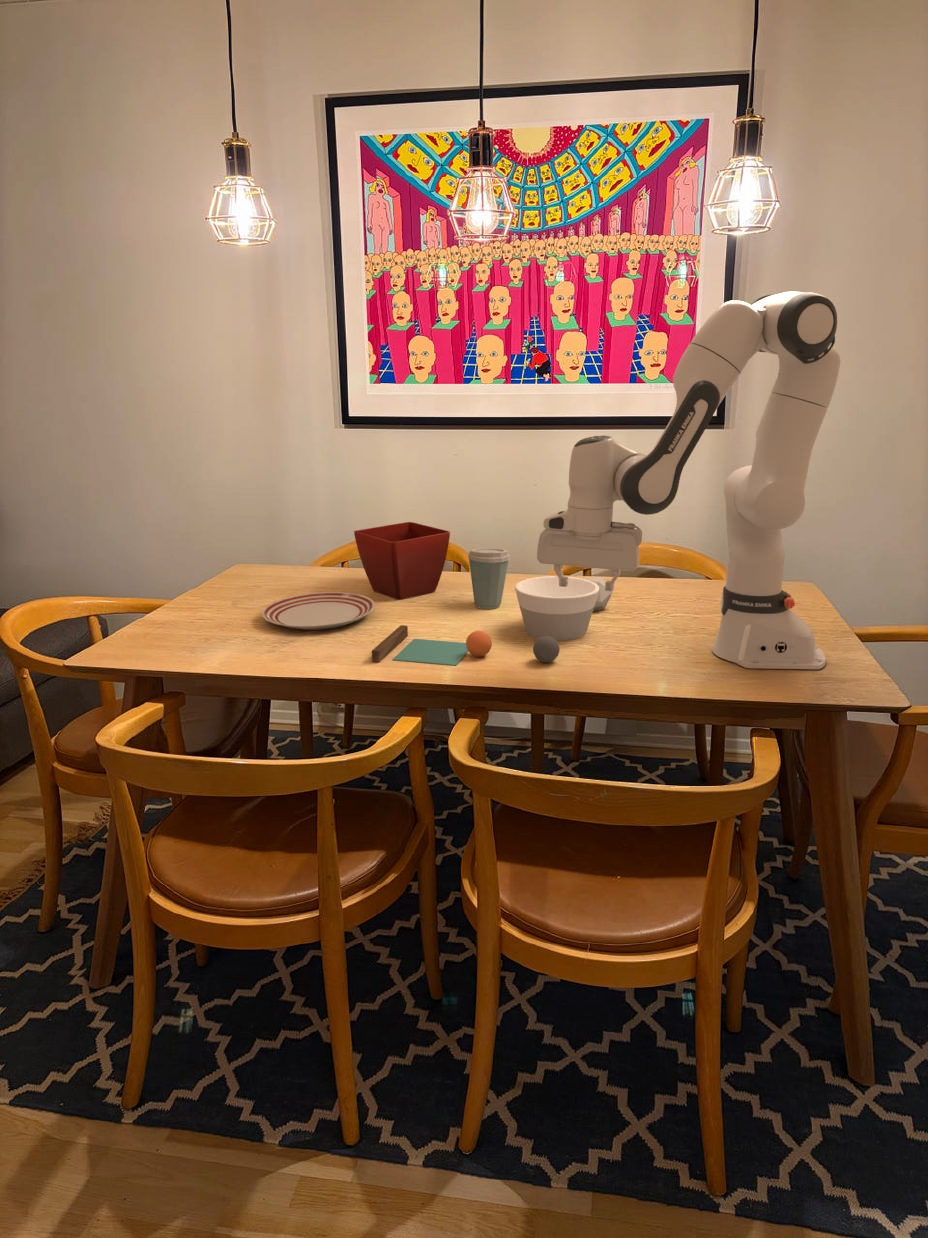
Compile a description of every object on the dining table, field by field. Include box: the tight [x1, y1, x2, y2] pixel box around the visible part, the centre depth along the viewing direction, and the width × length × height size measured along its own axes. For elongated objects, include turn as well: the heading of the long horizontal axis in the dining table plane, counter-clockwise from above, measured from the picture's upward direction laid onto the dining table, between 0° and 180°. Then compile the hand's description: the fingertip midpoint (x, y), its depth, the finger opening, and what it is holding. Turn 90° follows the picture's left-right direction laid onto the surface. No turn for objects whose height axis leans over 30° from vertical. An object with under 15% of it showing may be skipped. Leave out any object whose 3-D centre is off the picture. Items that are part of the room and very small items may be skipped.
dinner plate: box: [261, 591, 376, 631], centre depth 206 cm, size 28×27×3 cm
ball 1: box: [465, 630, 492, 658], centre depth 178 cm, size 6×6×6 cm
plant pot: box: [353, 521, 451, 600], centre depth 227 cm, size 19×19×17 cm
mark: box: [392, 638, 469, 667], centre depth 182 cm, size 14×14×1 cm
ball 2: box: [532, 636, 561, 663], centre depth 175 cm, size 6×6×6 cm
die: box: [583, 576, 614, 611], centre depth 211 cm, size 8×9×10 cm
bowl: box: [514, 575, 599, 641], centre depth 194 cm, size 19×19×11 cm
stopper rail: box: [371, 624, 409, 663], centre depth 184 cm, size 2×18×2 cm, turn 165°
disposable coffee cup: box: [467, 547, 511, 610], centre depth 213 cm, size 11×11×15 cm
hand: (586, 588), depth 169 cm, fingers open, 8 cm apart
